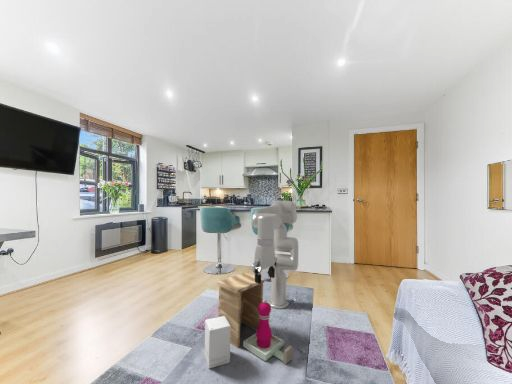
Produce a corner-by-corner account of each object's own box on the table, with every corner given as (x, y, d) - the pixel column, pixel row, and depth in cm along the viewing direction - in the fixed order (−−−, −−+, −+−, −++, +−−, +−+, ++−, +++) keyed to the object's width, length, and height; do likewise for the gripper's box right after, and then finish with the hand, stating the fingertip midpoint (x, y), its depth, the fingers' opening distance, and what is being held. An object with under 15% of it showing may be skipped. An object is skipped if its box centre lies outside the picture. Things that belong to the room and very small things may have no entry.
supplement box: (230, 363, 92) (231, 326, 92) (208, 369, 88) (209, 330, 88) (224, 349, 100) (225, 315, 100) (204, 354, 96) (204, 319, 97)
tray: (261, 334, 111) (262, 323, 111) (297, 353, 98) (297, 342, 98) (243, 346, 101) (243, 335, 101) (279, 370, 88) (280, 357, 88)
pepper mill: (259, 351, 97) (260, 304, 98) (253, 341, 104) (254, 297, 104) (274, 346, 100) (275, 301, 101) (267, 337, 107) (268, 294, 107)
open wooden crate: (244, 320, 124) (245, 272, 124) (263, 330, 114) (264, 279, 115) (216, 335, 109) (217, 281, 110) (236, 349, 100) (237, 290, 101)
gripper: (270, 238, 112) (270, 273, 111) (246, 243, 99) (245, 282, 98) (283, 240, 107) (282, 277, 106) (259, 246, 94) (258, 287, 93)
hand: (264, 279), depth 102 cm, fingers open, 9 cm apart
